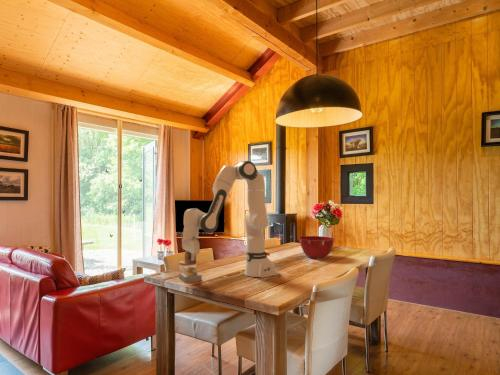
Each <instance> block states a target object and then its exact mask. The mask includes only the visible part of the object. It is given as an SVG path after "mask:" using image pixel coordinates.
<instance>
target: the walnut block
mask: <svg viewBox="0 0 500 375" xmlns="http://www.w3.org/2000/svg"><path fill="white" fill-rule="evenodd" d="M184 260H185V263H186V264H196V265H197V254H195V257H194V261H191V253H190V252H186V251H185V252H184Z"/></svg>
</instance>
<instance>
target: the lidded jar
mask: <svg viewBox="0 0 500 375" xmlns="http://www.w3.org/2000/svg"><path fill="white" fill-rule="evenodd" d="M187 266H195V267H197V263H196V264H186V263H185V259H184V260H180V261H179V262H178V268H179V272H180V273H184V267H187Z"/></svg>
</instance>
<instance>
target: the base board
mask: <svg viewBox="0 0 500 375" xmlns="http://www.w3.org/2000/svg"><path fill="white" fill-rule="evenodd" d="M178 278H179V279H180V280H181V281H182V282H183V283H191V282H198V280H199V281H202V279H203V278H202V274H201V273H199V272H197V275H190V276H187V275H185V274H184V273H181V272H180V273H179V277H178Z"/></svg>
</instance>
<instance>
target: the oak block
mask: <svg viewBox="0 0 500 375" xmlns="http://www.w3.org/2000/svg"><path fill="white" fill-rule="evenodd" d="M197 273H198V267H197V266H196V267H195V266H187V267H184V274H185V275H187V276H190V275H197Z"/></svg>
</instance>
